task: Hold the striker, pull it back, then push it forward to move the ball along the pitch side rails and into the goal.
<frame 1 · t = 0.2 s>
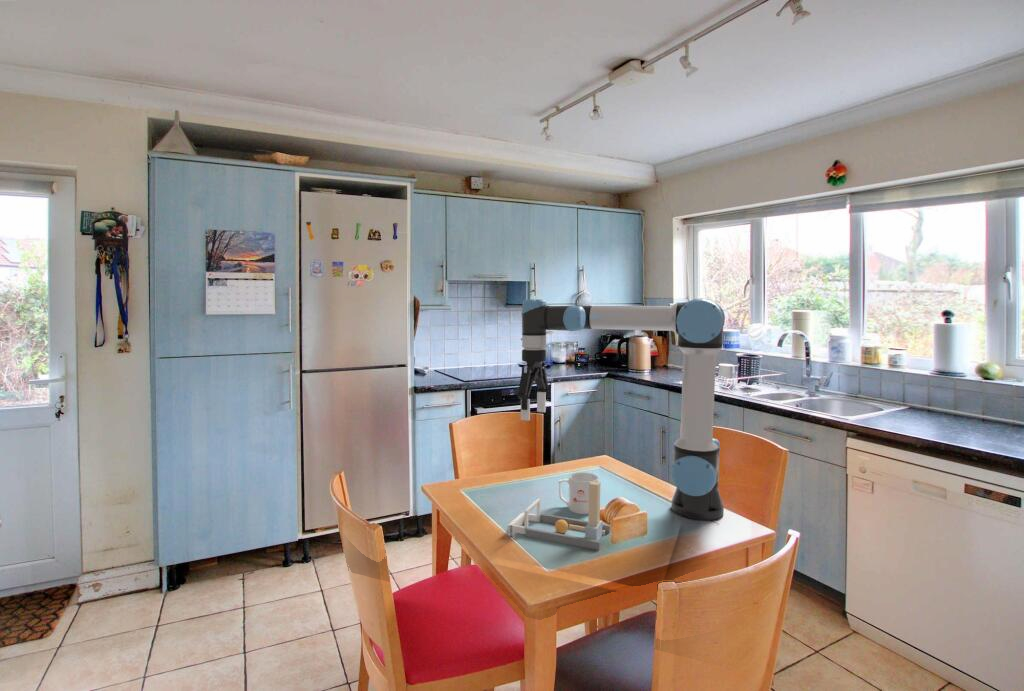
hand: (533, 415, 172), 28 cm above the table, fingers open, 13 cm apart
pitch side rails: (568, 538, 147), on the table
goal: (523, 530, 152), on the table
striker: (594, 510, 144), point 9 cm above the table, slide at 0.0 cm
mug: (578, 512, 166), on the table
ball: (561, 526, 148), point 3 cm above the table, touching pitch side rails
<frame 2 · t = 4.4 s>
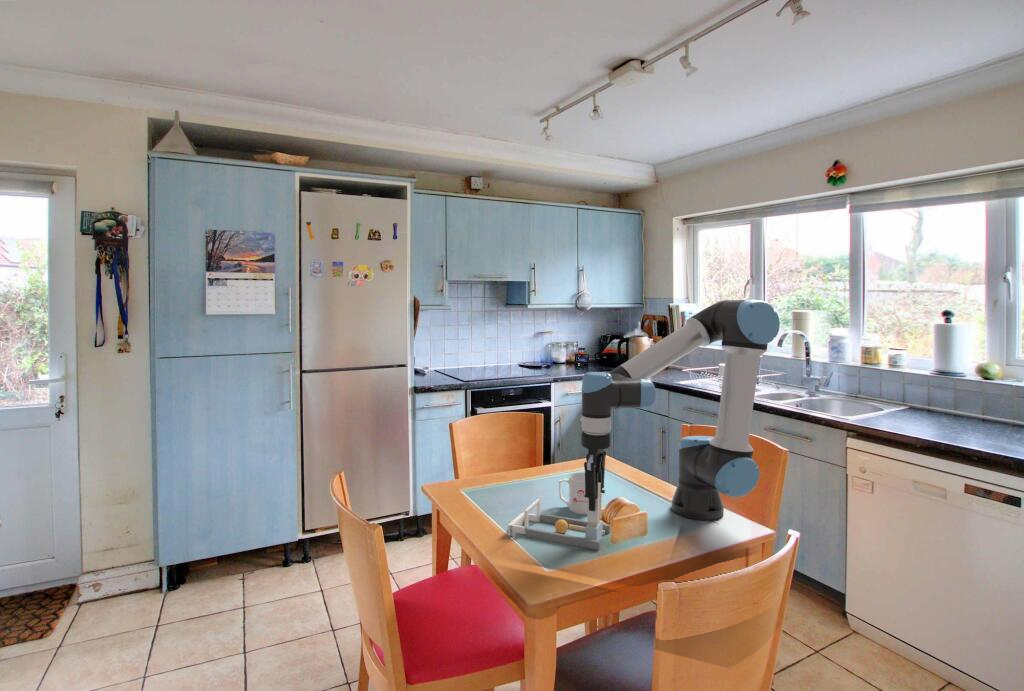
hand: (594, 519, 144), 7 cm above the table, fingers closed on striker, 2 cm apart
striker: (594, 510, 143), point 9 cm above the table, slide at -0.1 cm, touching gripper
everything else where it was.
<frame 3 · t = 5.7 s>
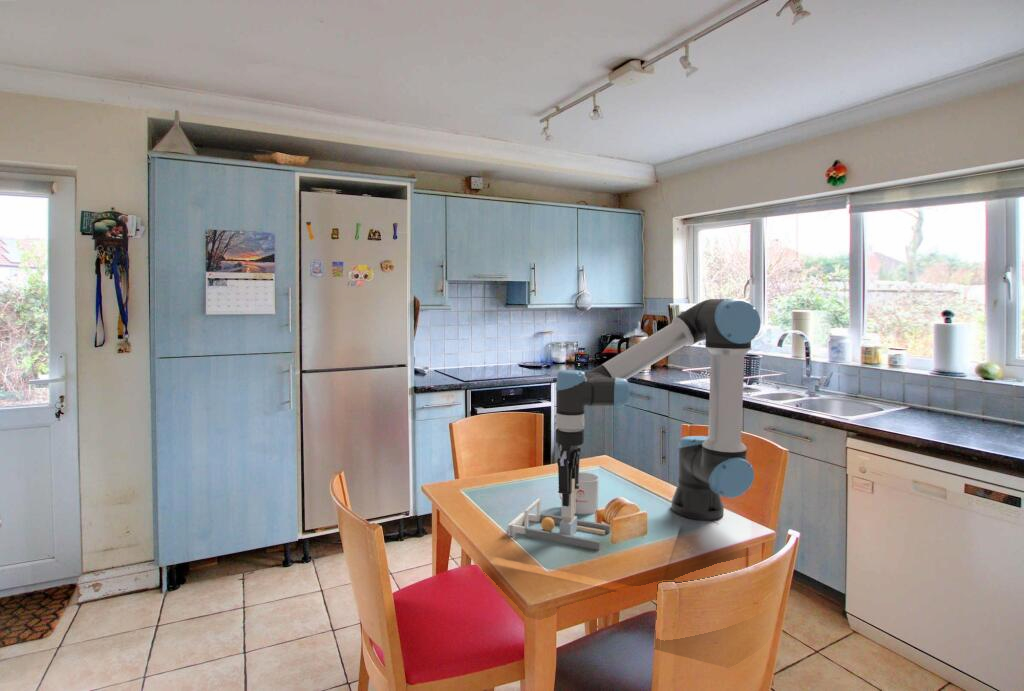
hand: (568, 514, 147), 7 cm above the table, fingers closed on striker, 2 cm apart
striker: (568, 506, 146), point 9 cm above the table, slide at 7.0 cm, touching gripper
ball: (547, 524, 149), point 3 cm above the table, tilted 114°, touching pitch side rails
everything else where it was.
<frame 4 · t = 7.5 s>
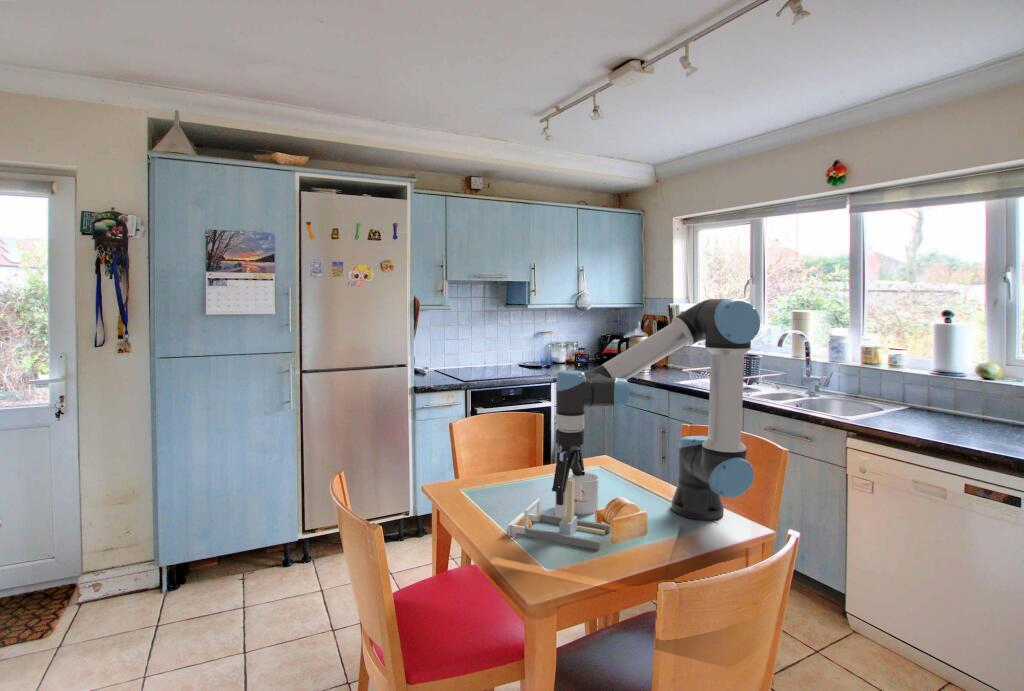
hand: (568, 507, 146), 9 cm above the table, fingers open, 13 cm apart
striker: (568, 506, 146), point 9 cm above the table, slide at 7.1 cm
ball: (525, 524, 152), point 2 cm above the table, tilted 15°
everything else where it was.
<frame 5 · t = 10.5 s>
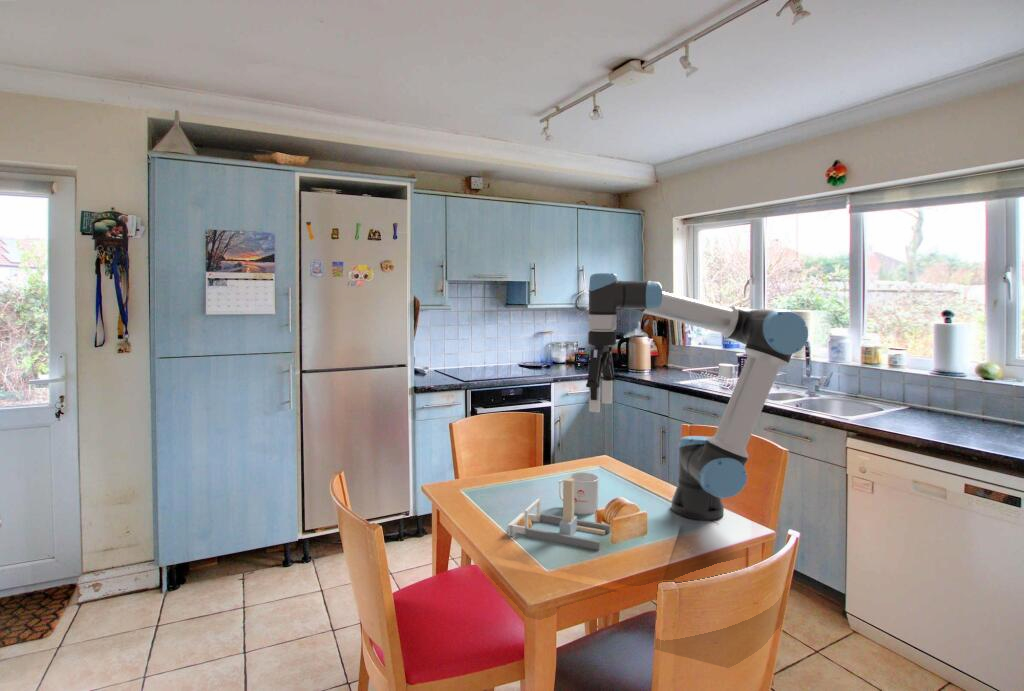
hand: (600, 407, 150), 35 cm above the table, fingers open, 13 cm apart
nothing on the table moved.
at the end: ball inside the target area (0.1 cm from its centre), point 1.8 cm above the table; the gripper is holding nothing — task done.
